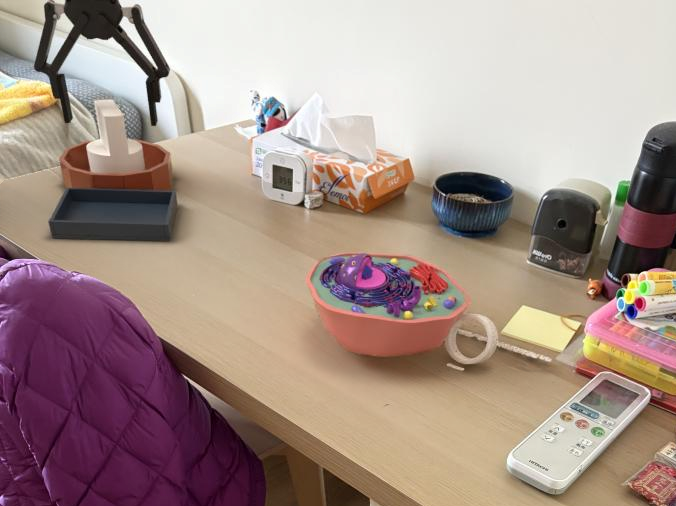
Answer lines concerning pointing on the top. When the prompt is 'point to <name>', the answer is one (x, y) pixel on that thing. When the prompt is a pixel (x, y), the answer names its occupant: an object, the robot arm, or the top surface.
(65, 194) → the tray
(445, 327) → the cell model
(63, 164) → the terracotta bowl
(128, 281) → the top surface
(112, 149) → the base with upright slab
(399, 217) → the top surface
